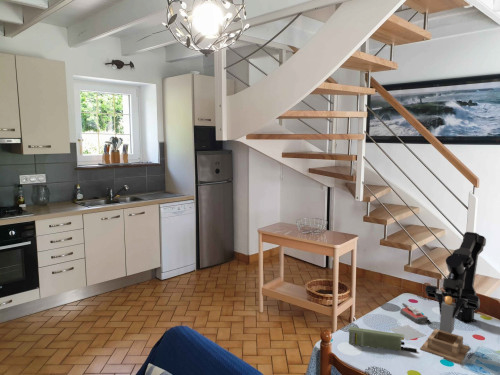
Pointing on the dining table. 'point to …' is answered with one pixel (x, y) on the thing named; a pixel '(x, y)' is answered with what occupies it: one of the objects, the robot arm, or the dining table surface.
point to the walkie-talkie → (413, 314)
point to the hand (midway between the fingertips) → (446, 315)
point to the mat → (408, 332)
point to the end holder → (446, 346)
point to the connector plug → (447, 315)
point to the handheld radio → (377, 339)
